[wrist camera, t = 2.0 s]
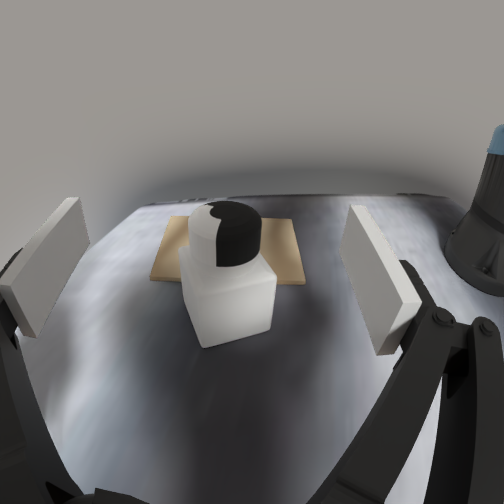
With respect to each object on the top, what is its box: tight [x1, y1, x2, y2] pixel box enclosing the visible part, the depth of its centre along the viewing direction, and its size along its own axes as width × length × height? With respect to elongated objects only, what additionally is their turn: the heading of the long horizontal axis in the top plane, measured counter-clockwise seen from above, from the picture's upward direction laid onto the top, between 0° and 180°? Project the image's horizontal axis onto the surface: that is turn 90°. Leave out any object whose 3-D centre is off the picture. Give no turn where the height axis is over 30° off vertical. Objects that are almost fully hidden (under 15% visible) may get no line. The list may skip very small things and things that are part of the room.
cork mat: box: [150, 216, 306, 285], centre depth 42 cm, size 18×14×1 cm
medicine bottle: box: [178, 201, 277, 348], centre depth 29 cm, size 7×7×12 cm
